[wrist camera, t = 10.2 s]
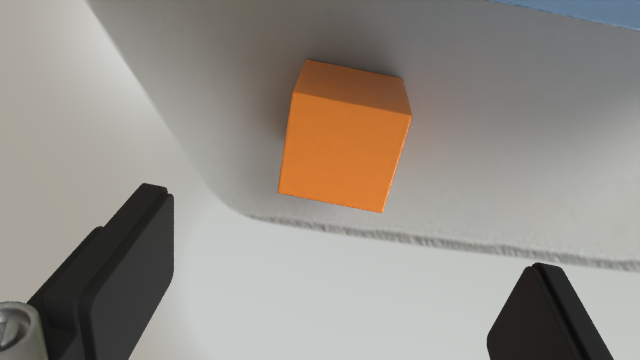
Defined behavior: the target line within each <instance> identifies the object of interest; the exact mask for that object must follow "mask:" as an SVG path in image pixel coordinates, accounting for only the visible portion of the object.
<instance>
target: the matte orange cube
mask: <svg viewBox="0 0 640 360" xmlns="http://www.w3.org/2000/svg"><path fill="white" fill-rule="evenodd" d="M411 119H412V113H411V109H410V105H409V102H408V98H407V94H406V90H405V86H404V82H403V79H402V78H398V77H393V76H388V75H383V74H378V73H373V72H368V71H363V70H358V69H353V68H348V67H343V66H338V65H333V64H328V63H323V62H318V61H313V60H308V59H307V60H306V61H305V63H304V66H303V68H302V70H301V73H300V75H299V78H298V80H297V82H296V85H295V87H294V90H293V92H292V97H291V103H290V110H289V117H288V124H287V130H286V137H285V144H284V151H283V157H282V164H281V171H280V178H279V184H278V193H281V194H286V195H291V196H296V197H301V198H306V199H312V200H317V201H322V202H327V203H332V204H337V205H342V206H347V207H353V208H358V209H363V210H368V211H373V212H378V213H382V212H383V210H384V207H385V204H386V200H387V197H388V194H389V191H390V187H391V184H392V181H393V178H394V174H395V171H396V168H397V165H398V161H399V158H400V155H401V152H402V148H403V145H404V142H405V139H406V135H407V132H408V129H409V126H410V122H411Z"/></svg>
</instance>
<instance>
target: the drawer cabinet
mask: <svg viewBox="0 0 640 360" xmlns="http://www.w3.org/2000/svg"><path fill="white" fill-rule="evenodd" d="M488 1H493V2H498V3H503V4H507V5H512V6H517V7H522V8H527V9H532V10H537V11H542V12H547V13H552V14H557V15H561V16H566V17H571V18H576V19H581V20H586V21H591V22H596V23H601V24H606V25H610V26H615V27H620V28H625V29H630V30H635V31H640V0H488Z"/></svg>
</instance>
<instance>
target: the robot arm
mask: <svg viewBox="0 0 640 360" xmlns="http://www.w3.org/2000/svg"><path fill="white" fill-rule="evenodd" d="M173 272H174V197H173V195H172V194H168V191H167V188H165V187H162V186H156V185H151V184H147V183H143V184H142V185H140V187H139V188H138V189H137V190H136V191H135V192H134V193H133V194H132V196H131V197H130V198H129V199H128V200H127V201H126V202H125V204H124V205H123V206H122V207H121V208H120V209H119V210H118V211H117V213H116V214H115V215H114V216H113V217H112V218H111V220H110V221H109V222H108V223H107V224H106V225H105V226H104V227H102V226H99V227H96V228H95V229H94V230H93V231H92V232H91V233H90V234H89V235H88V236H87V237H86V238H85V239H84V240H83V241H82V242H81V244H80V245H79V246H78V247H77V248H76V249H75V250H74V251H73V252H72V254H71V255H70V256H69V257H68V258H67V259H66V260H65V261H64V262H63V263H62V264H61V266H60V267H59V268H58V269H57V270H56V271H55V272H54V273H53V275H52V276H51V277H50V278H49V279H48V280H47V281H46V282H45V283H44V284H43V285H42V286H41V288H40V289H39V290H38V291H37V292H36V293H35V294H34V295H33V296H32V297H31V299H30V300H29V301H28V302H27V303H26V304H25V303H22V302H9V301H7V302H1V303H0V360H128V359H129V357H130V355H131V353H132V351H133V350H134V348H135V346H136V344H137V342H138V341H139V339H140V337H141V335H142V333H143V331H144V330H145V328H146V326H147V324H148V323H149V321H150V319H151V317H152V315H153V314H154V312H155V310H156V308H157V306H158V305H159V303H160V301H161V299H162V297H163V296H164V294H165V292H166V290H167V288H168V287H169V285H170V283H171V280H172V277H173ZM487 349H488V352H489V356H490V360H614V359H613V357H612V356H611V354H610V352H609V350H608V349H607V347H606V345H605V343H604V341H603V340H602V338H601V336H600V334H599V333H598V331H597V329H596V327H595V326H594V324H593V322H592V320H591V319H590V317H589V315H588V314H587V311H586V310H585V308H584V306H583V304H582V303H581V301H580V299H579V298H578V296H577V294H576V292H575V290H574V288H573V287H572V285H571V283H570V282H569V280H568V278H567V276H566V275H565V273H564V271H563V270H562V268H560V267H558V266H554V265H549V264H544V263H539V262H538V263H535V264H533V265H532V266H531V267H530V266H528V267H526V268H525V269H524V271H523V273H522V275H521V276H520V278H519V280H518V282H517V283H516V285H515V287H514V289H513V291H512V292H511V294H510V296H509V298H508V300H507V301H506V303H505V305H504V307H503V309H502V310H501V312H500V314H499V315H498V317H497V319H496V321H495V323H494V325H493V326H492V328H491V330H490V332H489V334H488V336H487Z"/></svg>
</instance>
